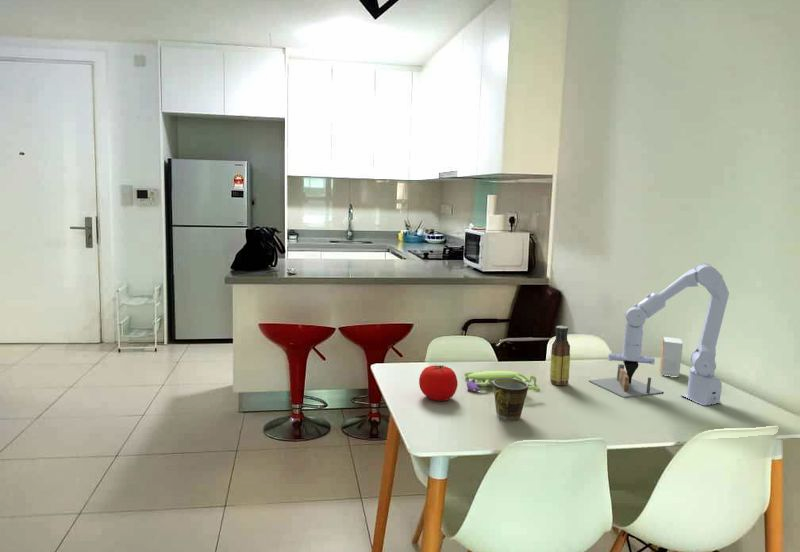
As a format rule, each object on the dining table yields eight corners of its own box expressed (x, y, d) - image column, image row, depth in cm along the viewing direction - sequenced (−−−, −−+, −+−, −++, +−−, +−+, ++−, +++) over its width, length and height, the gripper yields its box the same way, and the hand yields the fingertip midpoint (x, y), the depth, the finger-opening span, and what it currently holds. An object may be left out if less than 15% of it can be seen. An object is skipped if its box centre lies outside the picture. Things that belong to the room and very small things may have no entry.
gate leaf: (618, 380, 216) (619, 368, 215) (622, 380, 216) (623, 368, 215) (624, 390, 205) (625, 377, 205) (627, 390, 205) (629, 378, 205)
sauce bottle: (566, 381, 215) (571, 325, 212) (569, 387, 209) (575, 329, 206) (547, 379, 216) (552, 324, 213) (550, 385, 209) (554, 328, 206)
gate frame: (588, 381, 216) (590, 364, 215) (626, 377, 223) (628, 361, 222) (623, 397, 201) (625, 379, 200) (663, 393, 207) (665, 375, 206)
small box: (659, 370, 234) (663, 336, 232) (677, 372, 232) (681, 338, 230) (660, 376, 226) (664, 341, 224) (679, 378, 224) (683, 343, 222)
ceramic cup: (501, 407, 187) (504, 375, 185) (531, 416, 181) (534, 383, 179) (478, 419, 177) (480, 385, 175) (509, 429, 171) (512, 394, 169)
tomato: (464, 401, 190) (466, 368, 189) (432, 407, 184) (434, 373, 183) (441, 389, 200) (443, 358, 199) (411, 395, 194) (412, 362, 193)
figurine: (536, 405, 192) (537, 387, 191) (453, 390, 201) (454, 374, 200) (544, 387, 209) (546, 371, 208) (467, 374, 218) (468, 359, 217)
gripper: (653, 342, 209) (649, 381, 211) (608, 338, 212) (604, 377, 214) (657, 347, 202) (653, 387, 204) (611, 343, 205) (607, 383, 207)
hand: (628, 382), depth 209 cm, fingers closed
